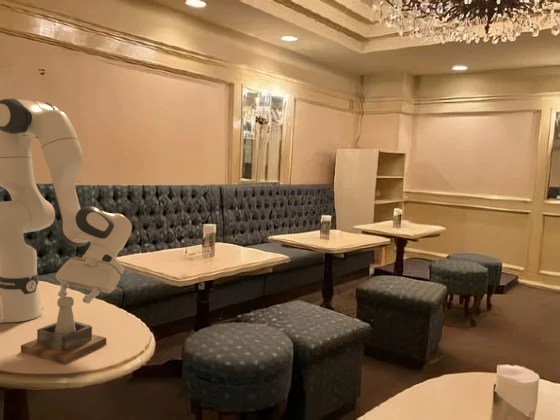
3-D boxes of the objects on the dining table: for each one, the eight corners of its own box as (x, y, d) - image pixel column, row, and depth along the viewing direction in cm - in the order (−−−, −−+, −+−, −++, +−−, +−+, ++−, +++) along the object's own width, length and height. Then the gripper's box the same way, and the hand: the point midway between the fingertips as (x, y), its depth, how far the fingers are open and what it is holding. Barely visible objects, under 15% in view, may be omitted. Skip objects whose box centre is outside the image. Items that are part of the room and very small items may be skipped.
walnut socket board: (20, 352, 137) (20, 331, 136) (65, 333, 152) (65, 315, 151) (64, 364, 131) (64, 343, 130) (106, 344, 146) (106, 324, 145)
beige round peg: (68, 346, 138) (68, 301, 136) (49, 344, 139) (49, 299, 137) (79, 338, 144) (80, 296, 142) (62, 336, 145) (62, 293, 143)
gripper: (66, 249, 152) (40, 287, 144) (119, 259, 144) (94, 299, 137) (77, 261, 157) (52, 298, 149) (129, 271, 149) (105, 310, 141)
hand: (73, 299), depth 143 cm, fingers open, 8 cm apart
